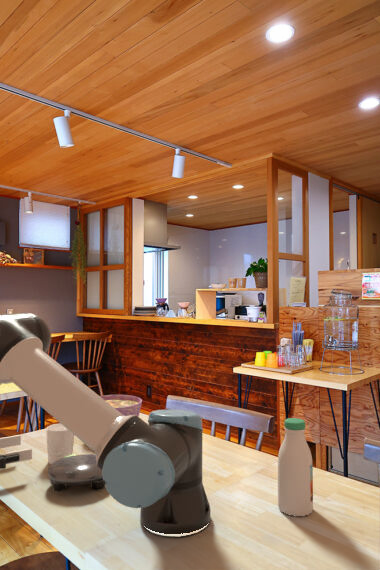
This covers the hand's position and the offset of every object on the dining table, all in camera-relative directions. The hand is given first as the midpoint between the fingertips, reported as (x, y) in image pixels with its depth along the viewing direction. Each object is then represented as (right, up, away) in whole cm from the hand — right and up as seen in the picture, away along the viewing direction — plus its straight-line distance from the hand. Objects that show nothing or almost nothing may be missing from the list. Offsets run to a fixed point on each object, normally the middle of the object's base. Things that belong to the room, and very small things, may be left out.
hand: (25, 446), depth 123 cm
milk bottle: (+70, -6, -24) cm, 74 cm away
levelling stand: (+18, -6, -10) cm, 21 cm away
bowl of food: (+19, -7, +30) cm, 37 cm away
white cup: (+8, -6, +5) cm, 12 cm away
